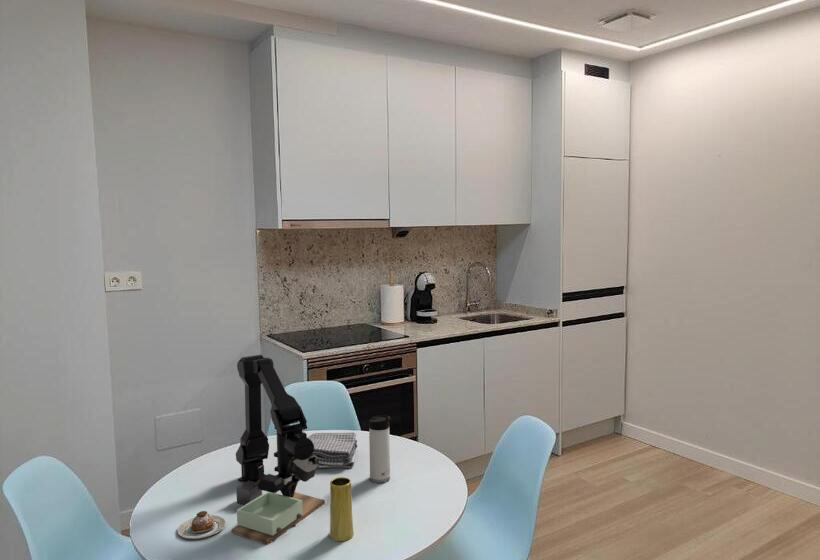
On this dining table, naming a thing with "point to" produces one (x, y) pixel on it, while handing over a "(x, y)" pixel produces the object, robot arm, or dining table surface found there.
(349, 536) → the vase
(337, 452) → the towel
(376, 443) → the travel mug
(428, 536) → the dining table surface
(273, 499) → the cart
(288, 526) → the track
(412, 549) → the dining table surface
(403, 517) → the dining table surface
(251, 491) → the block
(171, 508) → the dining table surface
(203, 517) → the pastry
